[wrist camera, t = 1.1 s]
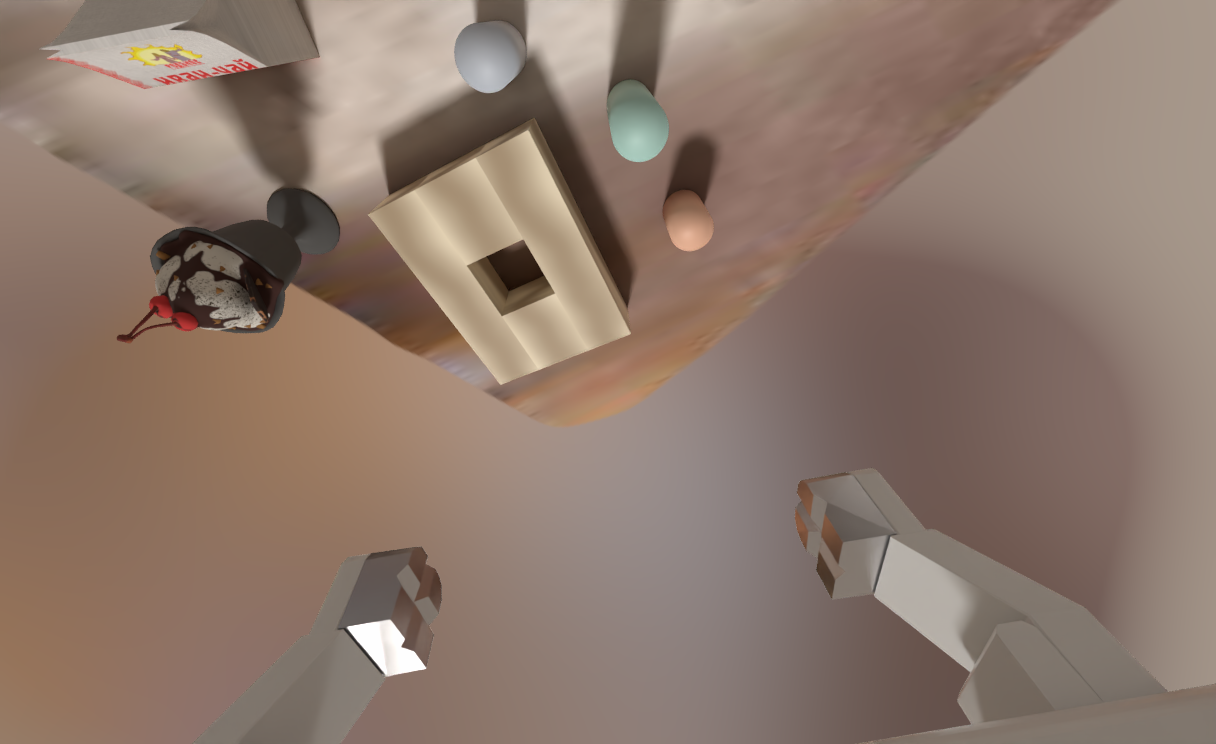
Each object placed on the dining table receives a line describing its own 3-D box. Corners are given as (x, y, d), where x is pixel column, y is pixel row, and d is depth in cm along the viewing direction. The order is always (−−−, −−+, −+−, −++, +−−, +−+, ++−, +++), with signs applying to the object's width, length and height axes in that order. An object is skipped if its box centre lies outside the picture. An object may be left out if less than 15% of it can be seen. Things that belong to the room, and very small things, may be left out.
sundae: (240, 224, 35) (58, 336, 23) (276, 155, 32) (91, 241, 20) (327, 280, 38) (206, 405, 26) (367, 221, 35) (253, 331, 23)
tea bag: (174, 0, 27) (0, -3, 19) (286, -21, 26) (155, -34, 18) (216, 76, 29) (77, 101, 21) (319, 57, 28) (217, 75, 21)
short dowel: (695, 182, 34) (706, 200, 31) (707, 219, 36) (719, 240, 32) (656, 200, 34) (663, 219, 31) (670, 235, 36) (678, 257, 33)
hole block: (534, 117, 31) (528, 130, 28) (627, 308, 40) (630, 333, 37) (388, 195, 34) (368, 214, 30) (507, 357, 43) (500, 384, 40)
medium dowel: (510, 10, 27) (493, 10, 23) (535, 65, 29) (525, 76, 24) (467, 35, 28) (442, 41, 23) (494, 88, 30) (476, 103, 25)
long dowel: (642, 70, 29) (656, 87, 23) (658, 118, 31) (676, 146, 25) (599, 92, 30) (601, 115, 24) (617, 139, 32) (624, 171, 26)
